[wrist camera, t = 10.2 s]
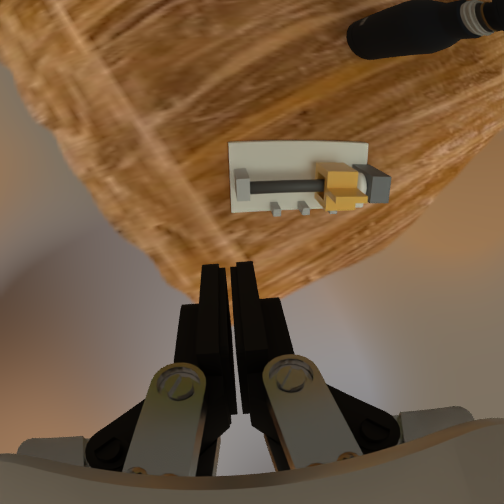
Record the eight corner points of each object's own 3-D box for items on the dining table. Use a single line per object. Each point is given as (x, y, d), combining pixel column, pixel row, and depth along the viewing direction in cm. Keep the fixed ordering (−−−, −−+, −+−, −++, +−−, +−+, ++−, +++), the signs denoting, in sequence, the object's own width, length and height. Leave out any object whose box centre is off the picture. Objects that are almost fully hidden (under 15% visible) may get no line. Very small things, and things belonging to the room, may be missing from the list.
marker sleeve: (343, 162, 40) (369, 178, 33) (341, 197, 42) (365, 219, 35) (315, 162, 39) (337, 178, 32) (314, 197, 42) (334, 221, 35)
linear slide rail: (367, 142, 42) (393, 153, 35) (361, 204, 47) (384, 224, 40) (228, 141, 40) (230, 151, 33) (231, 209, 45) (233, 232, 38)
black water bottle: (386, 62, 36) (560, 67, 10) (347, 57, 36) (519, 40, 9) (383, 24, 33) (549, -4, 7) (344, 17, 33) (502, -40, 6)
